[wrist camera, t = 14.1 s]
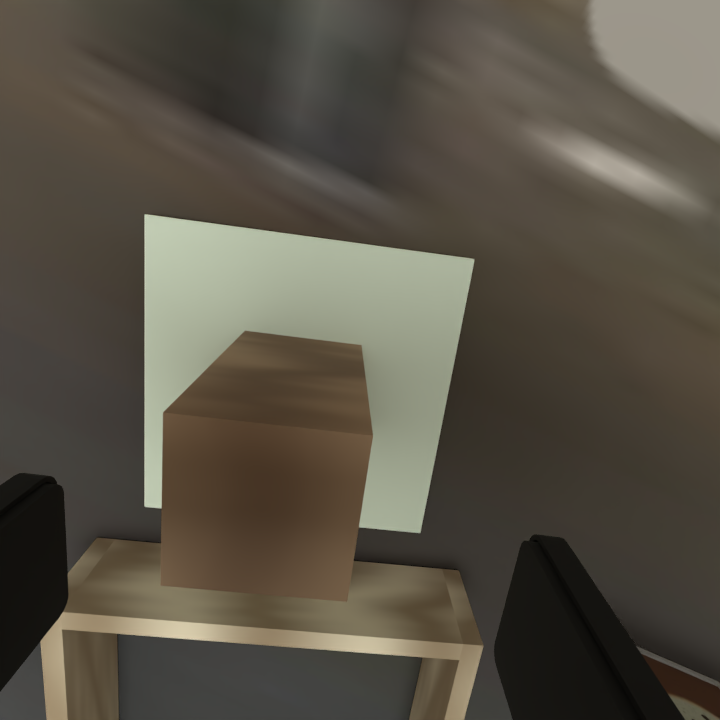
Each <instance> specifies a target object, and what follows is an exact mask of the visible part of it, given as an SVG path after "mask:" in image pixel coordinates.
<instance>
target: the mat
mask: <svg viewBox="0 0 720 720" xmlns="http://www.w3.org/2000/svg"><path fill="white" fill-rule="evenodd" d="M474 260H475V259H471V258H464V257H457V256H449V255H442V254H435V253H427V252H420V251H413V250H405V249H398V248H391V247H383V246H376V245H369V244H361V243H354V242H347V241H339V240H332V239H325V238H317V237H310V236H303V235H295V234H288V233H281V232H273V231H266V230H259V229H251V228H244V227H237V226H229V225H222V224H215V223H207V222H200V221H193V220H185V219H178V218H170V217H163V216H156V215H147V214H145V507H152V508H162V444H163V412H164V411H165V410H166V409H167V408H168V407H169V406H170V405H171V404H172V403H173V402H174V401H175V400H176V399H177V398H178V397H179V396H180V395H181V394H182V393H183V392H184V391H185V390H186V389H187V388H188V387H189V386H190V385H191V384H192V383H193V382H194V381H195V380H196V379H197V378H198V377H199V376H200V375H201V374H202V373H203V372H204V371H205V370H206V369H207V368H208V367H209V366H210V365H211V364H212V363H213V362H214V361H215V360H216V359H217V358H218V357H219V356H220V355H221V354H222V353H223V352H224V351H225V350H226V349H227V348H228V347H229V346H230V345H231V344H232V343H233V342H234V341H235V340H236V339H237V338H238V337H239V336H240V335H241V334H242V333H243V332H244V331H252V332H260V333H268V334H276V335H284V336H292V337H300V338H308V339H317V340H325V341H333V342H341V343H349V344H357V345H362V353H363V361H364V369H365V376H366V384H367V392H368V400H369V408H370V415H371V423H372V431H373V440H372V446H371V452H370V459H369V465H368V472H367V478H366V484H365V491H364V497H363V504H362V510H361V516H360V523H359V527H361V528H372V529H382V530H393V531H403V532H413V533H420V532H421V527H422V522H423V517H424V512H425V507H426V502H427V497H428V492H429V487H430V482H431V477H432V472H433V467H434V462H435V457H436V452H437V447H438V442H439V437H440V432H441V427H442V422H443V417H444V412H445V406H446V401H447V396H448V391H449V386H450V381H451V376H452V371H453V366H454V361H455V356H456V351H457V346H458V341H459V336H460V331H461V326H462V321H463V316H464V311H465V306H466V301H467V296H468V291H469V286H470V281H471V276H472V270H473V265H474Z"/></svg>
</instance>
